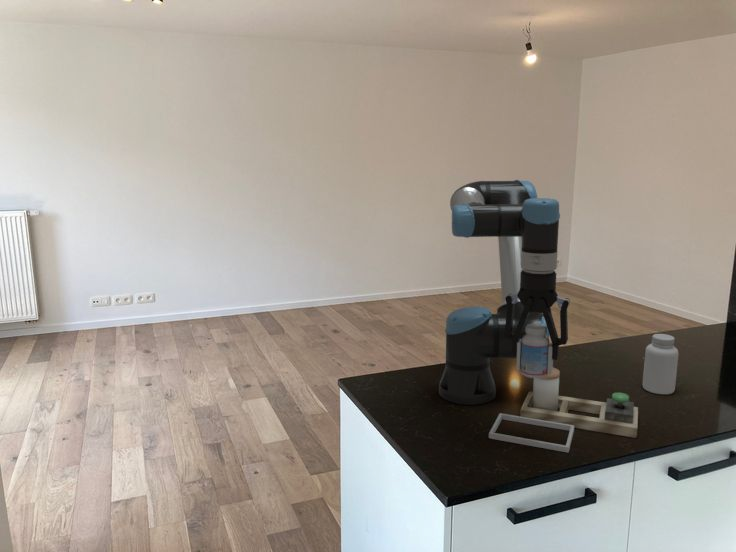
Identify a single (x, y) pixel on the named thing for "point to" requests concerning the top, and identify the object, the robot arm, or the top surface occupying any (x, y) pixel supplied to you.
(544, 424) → the white rectangular frame
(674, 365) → the pill bottle
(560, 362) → the top surface
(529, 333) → the pill bottle
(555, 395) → the white canister
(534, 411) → the wooden divided rack
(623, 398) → the button
